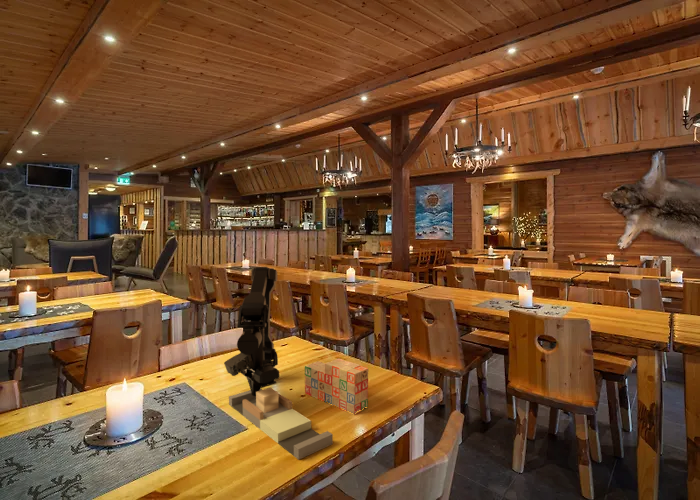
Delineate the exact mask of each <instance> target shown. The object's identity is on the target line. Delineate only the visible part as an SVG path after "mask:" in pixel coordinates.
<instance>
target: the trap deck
mask: <svg viewBox="0 0 700 500" xmlns="http://www.w3.org/2000/svg"><path fill="white" fill-rule="evenodd" d="M260 390H263V389H262V388H260ZM260 390H259V391H260ZM228 406H230V407H231V408H233V409H234V410H235V411H236V412H238V413H239V414H240V415H242V417H244V418H245V419H246V420H248V421H249V422H250V423H252V424H253V425H254V426H255V427H256V428H258V429H259V430H260V431H261V432H263V434H266V435H267V436H268V437H269V438H270V439H272V440H273V441H274V442H275V443H277V444H278V445H279V446H281V448H283V449H284V450H286V451H287V452H288V453H289V454H291V455H292V456H293V457H294V458H296V459H297V460H301V459H303V458H306V457H307V456H310V455H312V454H314V453H316V452H318V451H320V450H323V449H325V448H327V447H329V446H331V445H333V444H334V442H333V441H334V440H333V438H334V437H333V436H334V435H333V433H331V432H330V431H328V430H326V431H324V432H322V433H318V431H316V430H314V429H313V428H312V420H311V419H309V418H307V417H306V416H305V415H303V414H301V413H300V412H298V411H297V410H295V409H293V401H292V400H290V399H289V398H287V397H285V396H283V395H282V394H280V393H279V392H278V409H275V410H272V411H269V412H266V413H263V411H262V410H261V409H259V408H258V407H256V396H253V395H252V393H251V389H250V390H246V391H243V392H238V393H236V394H232V395H230V396H228Z"/></svg>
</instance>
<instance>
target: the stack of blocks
mask: <svg viewBox="0 0 700 500" xmlns="http://www.w3.org/2000/svg"><path fill="white" fill-rule="evenodd" d="M304 393H305V394H306V395H308V396H310V397H312V398H314V397H315V398H314V399H316V398H317V400H319V399H320V400H319V401H321V400H322V401H321V402H323V401H325V402H324V403H326V402H328V403H330V404H332V405H331V406H333V405H335V406H337V407H339V408H342V409H344V410H346V411H349V412H351V413H353V414H355V413H356V412H357V411H359V410H362V409H363V408H365V407H369V397H368V396H369V367H365V366H362V365H360V364H359V363H355V362H351V361H348V360H345V359H341V358H335V359H332V360H331V361H328V362H322V361H314V362H312V363H309V364H307V365H304ZM328 403H327V404H328ZM330 404H329V405H330ZM335 406H334V407H335ZM337 407H336V408H337ZM339 408H338V409H339ZM344 410H343V411H344ZM346 411H345V412H346ZM353 414H352V415H353ZM355 415H356V414H355Z"/></svg>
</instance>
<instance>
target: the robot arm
mask: <svg viewBox="0 0 700 500" xmlns="http://www.w3.org/2000/svg"><path fill="white" fill-rule="evenodd" d="M250 272H251V274H250V277H251V278H250V281H252V282H251V287H250V290H249V294H248V295H246V296H245V297H244V298H243V300H242V304H240V306H239V310H238V311H239V312H238V319H237V328H238V329H240V328H241V329H242V333H241V335H240V336H239V338H238V339H237V343H236V347H237V350H238V351H239V352H240V353H238V354H235V355H233V356H232V357H230V358H228V359H227V360H225V361H224V362H223V363H224V366H225V369H226V372H227V374H230V375H231V376H233V377H236V376H238V375H239V374H241V375H243V376H244V377H245V378H246V380H247V382H248V386H249V389H250V390H251V393H252V395H253V396H256V392H257V391H259V390H260V389H262V388H263V387H266V386H271V385H273V384H276V383H277V380H278V379H279V378H280V370H278V368H276V366H278V365H279V364H278V362H279V361H278V359H279V358H278V353H277V351H276V348H274V347H275V346H274V345H275V344H274V342H273V340H272V339H271V337H270V332H271V331H270V326H271V325H270V324H271V296H272V295H271V294H272V292H273V291H274V290H275V288H276V282H278V271H277V269H274V268H270V267H268V266H255V267H253V268H252V269H251V271H250Z"/></svg>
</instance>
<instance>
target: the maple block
mask: <svg viewBox="0 0 700 500" xmlns="http://www.w3.org/2000/svg"><path fill="white" fill-rule="evenodd" d="M278 393H279V392H278V391H276V390H275V389H273V388H272V387H267V388H264V389H262V390H260V391H257V392H256V407H258V408H259V409H261V410H262V411H263V413H266V412H269V411H272V410H275V409H278Z"/></svg>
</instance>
